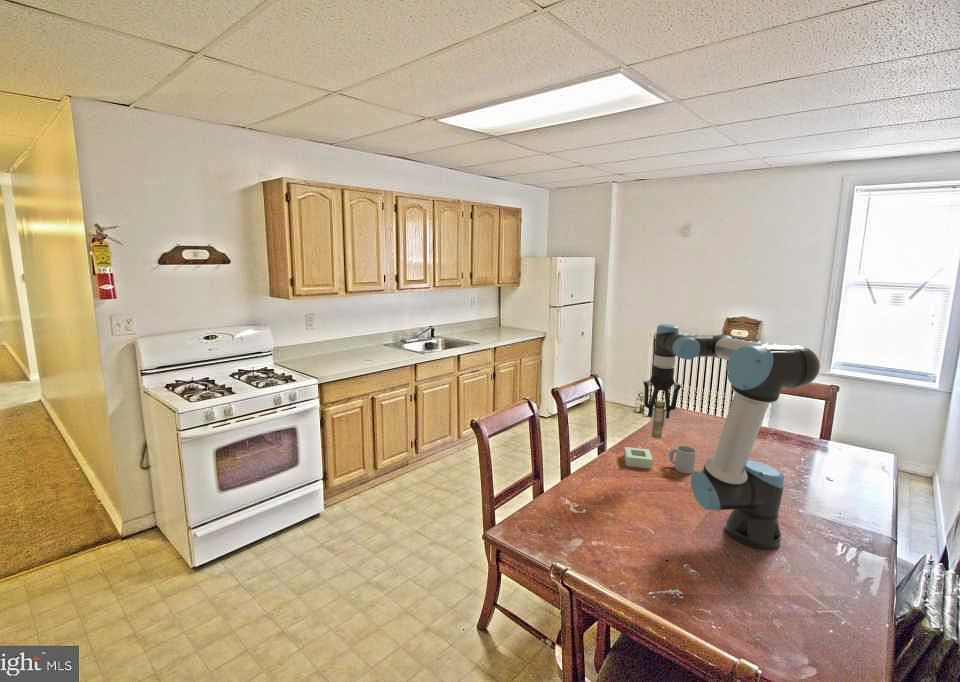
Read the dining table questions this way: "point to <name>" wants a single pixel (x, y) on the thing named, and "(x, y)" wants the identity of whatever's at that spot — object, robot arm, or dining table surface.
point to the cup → (683, 459)
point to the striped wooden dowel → (658, 419)
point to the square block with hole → (638, 457)
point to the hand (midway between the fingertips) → (657, 425)
